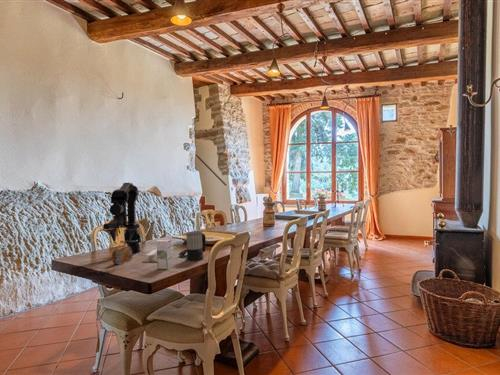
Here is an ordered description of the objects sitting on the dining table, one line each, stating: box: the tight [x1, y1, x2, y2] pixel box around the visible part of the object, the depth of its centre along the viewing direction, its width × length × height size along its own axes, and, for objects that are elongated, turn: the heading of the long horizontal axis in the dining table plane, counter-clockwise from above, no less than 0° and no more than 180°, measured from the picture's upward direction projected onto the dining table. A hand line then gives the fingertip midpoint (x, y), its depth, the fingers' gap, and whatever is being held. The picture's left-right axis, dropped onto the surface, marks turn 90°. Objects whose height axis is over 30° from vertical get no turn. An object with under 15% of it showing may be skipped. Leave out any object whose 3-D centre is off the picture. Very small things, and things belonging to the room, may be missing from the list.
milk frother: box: [178, 230, 207, 262], centre depth 196 cm, size 14×16×15 cm
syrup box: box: [155, 238, 173, 270], centre depth 175 cm, size 6×6×14 cm
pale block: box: [143, 246, 175, 263], centre depth 200 cm, size 10×20×4 cm, turn 173°
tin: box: [111, 245, 134, 266], centre depth 190 cm, size 15×3×8 cm, turn 163°
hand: (121, 241), depth 190 cm, fingers open, 9 cm apart
